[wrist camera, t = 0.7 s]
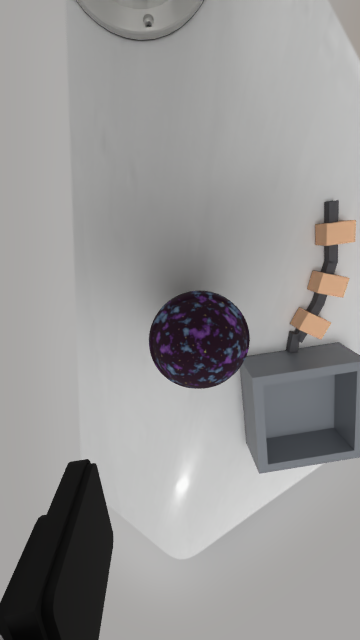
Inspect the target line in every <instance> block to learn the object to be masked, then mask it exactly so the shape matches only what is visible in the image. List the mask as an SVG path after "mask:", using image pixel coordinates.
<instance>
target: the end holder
mask: <svg viewBox="0 0 360 640" xmlns="http://www.w3.org/2000/svg"><path fill="white" fill-rule="evenodd" d="M240 372H241V384H242V396H243V408H244V419H245V431H246V443H247V445H248V448H249V450H250V453H251V455H252V457H253V460H254V462H255V465H256V467H257V469H258V472H259V474H260V473H266V472H272V471H278V470H284V469H291V468H297V467H303V466H309V465H315V464H321V463H327V462H334V461H339V460H346V459H351V458H358V457H360V355H358V354H357V353H355V352H353V351H352V350H350V349H349V348H347V347H345V346H344V345H342V344H341V343H332V344H325V345H319V346H312V347H306V348H299V349H298V352H296V353H289V352H288V351H287V350H286V351H279V352H273V353H266V354H260V355H253V356H247V357H246V358H245V360H244V362H243V364H242V365H241V367H240Z"/></svg>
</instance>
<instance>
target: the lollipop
mask: <svg viewBox="0 0 360 640" xmlns="http://www.w3.org/2000/svg"><path fill="white" fill-rule="evenodd" d="M249 341H250V338H249V329H248V326H247V323H246V320H245V318H244V316H243V315H242V313H241V312H240V310H239V309H238V308H237V307H236V306H235V305H234V304H233V303H232V302H231V301H230V300H228V299H226V298H225V297H223V296H221V295H219V294H216V293H213V292H208V291H192V292H187V293H184V294H181V295H178V296H176V297H175V298H173V299H171V300H170V301H168V302H167V303H166V304H165V305H164V306H163V307H162V308H161V309H160V311H159V312H158V313H157V315H156V316H155V318H154V320H153V323H152V325H151V329H150V334H149V347H150V353H151V356H152V359H153V361H154V363H155V365H156V367H157V368H158V370H159V371H160V372H161V373H162V374H163V375H164V376H165V377H166V378H167V379H169V380H170V381H172V382H173V383H176V384H178V385H180V386H183V387H187V388H209V387H213V386H216V385H219V384H221V383H223V382H224V381H226V380H227V379H229V378H230V377H231V376H232V375H234V374H235V373H236V372H237V370H238V369H239V368H240V367H241V365H242V364H243V362H244V360H245V358H246V356H247V353H248V349H249Z"/></svg>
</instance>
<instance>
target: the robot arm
mask: <svg viewBox="0 0 360 640" xmlns="http://www.w3.org/2000/svg"><path fill="white" fill-rule="evenodd" d="M77 1H78V3H79V4H80V5H81V7H82V8H83V9H84V11H85V12H86V13H87V14H88V15H89V16H90V17H91V18H92V19H94V20H95V21H96V22H97V23H98V24H100V25H101V26H103V27H104V28H106V29H107V30H109V31H110V32H112V33H115V34H117V35H120V36H122V37H125V38H131V39H137V40H146V39H155V38H159V37H162V36H165V35H168V34H170V33H172V32H173V31H175V30H177V29H179V28H180V27H181V26H183V25H184V24H185V23H186V22H187V21H188V20H189V19H190V18H191V17H192V16H193V15H194V14H195V12H196V11H197V10H198V8H199V7H200V6H201V4H202V2H203V0H77ZM146 25H151V27H146ZM112 549H113V531H112V527H111V523H110V519H109V515H108V510H107V506H106V502H105V498H104V494H103V489H102V485H101V481H100V477H99V473H98V469H97V465H96V464H95V463H93V464H91V463H90V461H89V460H88V459H86V460H79V461H73V462H69V463H68V465H67V467H66V470H65V472H64V474H63V477H62V479H61V482H60V484H59V487H58V489H57V491H56V494H55V496H54V498H53V501H52V503H51V506H50V508H49V510H48V513H47V515H42V516H41V517H39V518H38V520H37V522H36V524H35V526H34V528H33V530H32V533H31V535H30V537H29V539H28V542H27V544H26V546H25V548H24V551H23V553H22V555H21V558H20V560H19V562H18V564H17V567H16V569H15V571H14V573H13V575H12V578H11V580H10V582H9V585H8V587H7V589H6V591H5V593H4V596H3V598H2V600H1V602H0V640H98V639H99V633H100V626H101V620H102V613H103V607H104V601H105V593H106V588H107V581H108V575H109V568H110V562H111V555H112Z"/></svg>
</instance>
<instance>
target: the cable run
mask: <svg viewBox="0 0 360 640" xmlns="http://www.w3.org/2000/svg"><path fill="white" fill-rule="evenodd" d="M338 205H339V200H337V201H330V202H325V223H323V224H316V225H315V242H316V245H323V246H325V259H324V264H323V267H322V271H321V272H318V271H312V274H311V278H310V281H309V285H308V288H307V289H308V290H311V291H313V292H315V294H314V297H313V300H312V302H311V304H310V305H309V307H308V309H307V311H306V310H304V309H302V308H300V307H299V308H298V310H297V312H296V314H295V316H294V317H293V319H292V321H291V323H290V324H292V325H293V326H294V327H296V330H295V332H290V331H289V337H288V342H287V348H286V350H287V351H288V352H289V353H296V352H298V347H299V342H301V343H302V342H303V340H304V338H305V336H306V335H307V334H310V335H312V336H314V337H316V338H319V339H322V338H323V336H324V334H325V333H326V331H327V329H328V328H329V326H330V324H331V322H329V321H327V320H325V319H323V318H321V317H319V316H318V314H319V312H320V311H321V309H322V307H323V306H324V303H325V300H326V297H327V295H331V296H337V297H342V298H343V296H344V293H345V290H346V287H347V284H348V281H349V278H347V277H343V276H339V275H334V272H335V269H336V266H337V263H338V244H343V243H350V242H355V230H356V220H347V221H338Z"/></svg>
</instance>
